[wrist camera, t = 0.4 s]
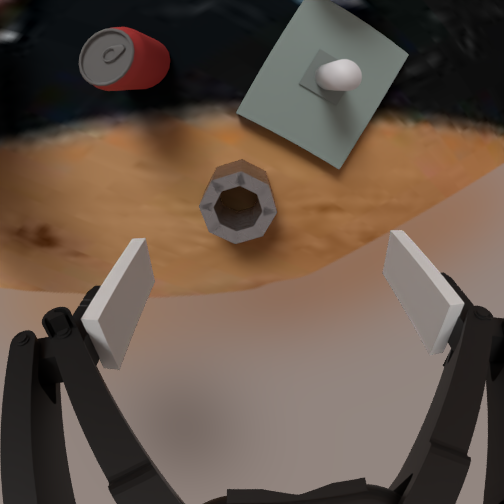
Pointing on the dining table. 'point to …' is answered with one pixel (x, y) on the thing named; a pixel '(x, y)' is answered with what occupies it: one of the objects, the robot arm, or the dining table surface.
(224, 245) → the dining table surface
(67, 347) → the robot arm
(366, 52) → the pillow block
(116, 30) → the beer can
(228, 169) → the ring
